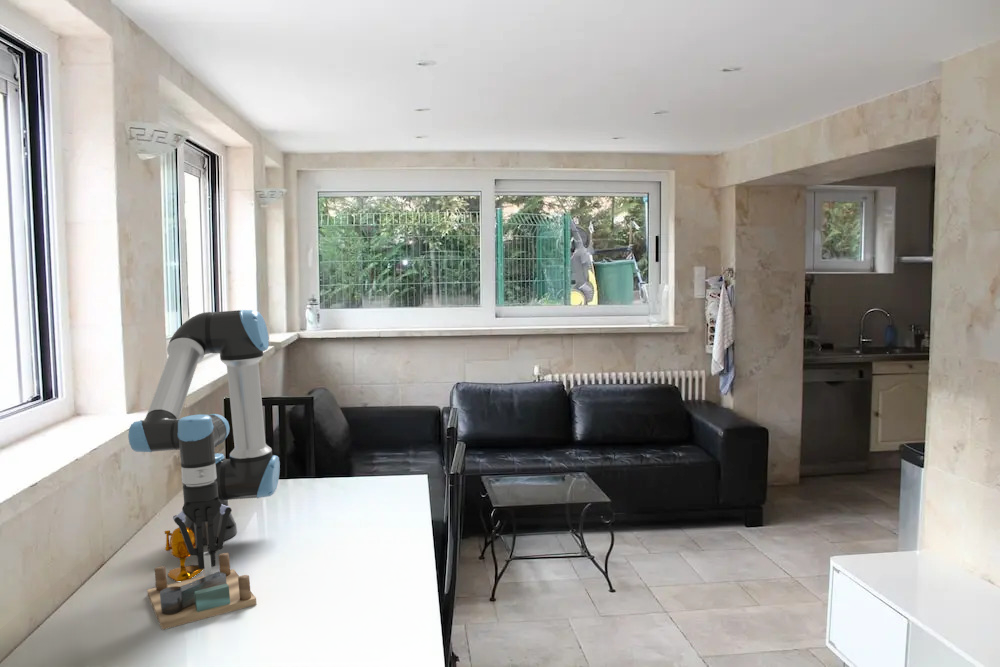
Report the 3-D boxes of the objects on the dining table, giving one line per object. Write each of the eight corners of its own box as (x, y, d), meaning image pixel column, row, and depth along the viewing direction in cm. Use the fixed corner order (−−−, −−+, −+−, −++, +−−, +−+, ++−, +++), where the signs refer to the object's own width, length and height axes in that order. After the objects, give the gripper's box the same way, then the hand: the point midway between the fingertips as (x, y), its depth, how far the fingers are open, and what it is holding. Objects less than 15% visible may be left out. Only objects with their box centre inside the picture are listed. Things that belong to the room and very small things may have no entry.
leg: (168, 615, 172) (166, 596, 171) (157, 611, 174) (155, 592, 174) (229, 590, 184) (227, 571, 183) (217, 586, 186) (216, 568, 186)
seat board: (147, 595, 188) (145, 569, 187) (234, 574, 198) (231, 549, 197) (162, 629, 169) (159, 600, 168) (256, 604, 179) (254, 576, 179)
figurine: (205, 563, 207) (201, 518, 206) (201, 578, 197) (197, 531, 195) (170, 568, 205) (165, 523, 203) (164, 584, 194) (160, 536, 193)
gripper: (172, 491, 177) (181, 593, 179) (232, 480, 183) (240, 579, 185) (167, 484, 183) (176, 582, 185) (225, 474, 190) (233, 569, 192)
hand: (208, 580), depth 185 cm, fingers closed
